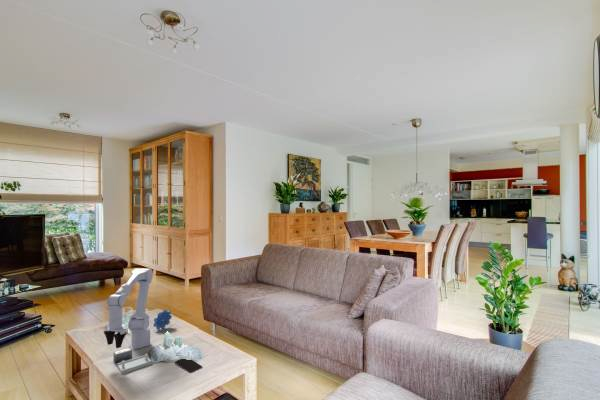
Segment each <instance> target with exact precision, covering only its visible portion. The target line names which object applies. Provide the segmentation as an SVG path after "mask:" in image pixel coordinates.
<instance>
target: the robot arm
mask: <svg viewBox="0 0 600 400" xmlns="http://www.w3.org/2000/svg"><path fill="white" fill-rule="evenodd" d="M153 274H154V272H153V270H152V268H150V267H149V268H137V267H135V268H133V269H132V271H131V273H130V277H129V279H128V280H127V281H126V283H124V284H122V285H121V286H120V287H119V288H118V290H116V292H114V294H111V295H109V297H108V298H107V302H106V304H107V306H108V307H107V308H108V311H109V315H108V316H109V318H108V324H106V325H105V330H104V331H103V334H104V336H105V338H106V343H107V345H108V346H109V345H113V344H114V340H115V349H120V348H121V347H122V345H123V342H124V339H125V337H126V335H127V332H126V329H125V328H124V326H123V310H124V309H123V307H124V305H125V303H126V301H127V298H128V296H129V295H130V293H131V292H132V290H133V289H132V288H133V287H134V286H135V284H137V283H138V285H139V288H138V294H137V298H136V306H135V312H134V313H133V314H132V315H131V316H130V317H129V321H128V322H127V323H128V325H127V327H128V330H130V332H131V342H130V343H129V344H128V346H129V348H131V349H132V350H133V351H134V350H138V349H140V348H144V347H148V346H151V345H152V344H151V331H150V330H151V329H150V327H149V326H150V316H149V315H148V314H147V313H146V309H147V301H148V294H149V289H150V283H152V281H153Z"/></svg>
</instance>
